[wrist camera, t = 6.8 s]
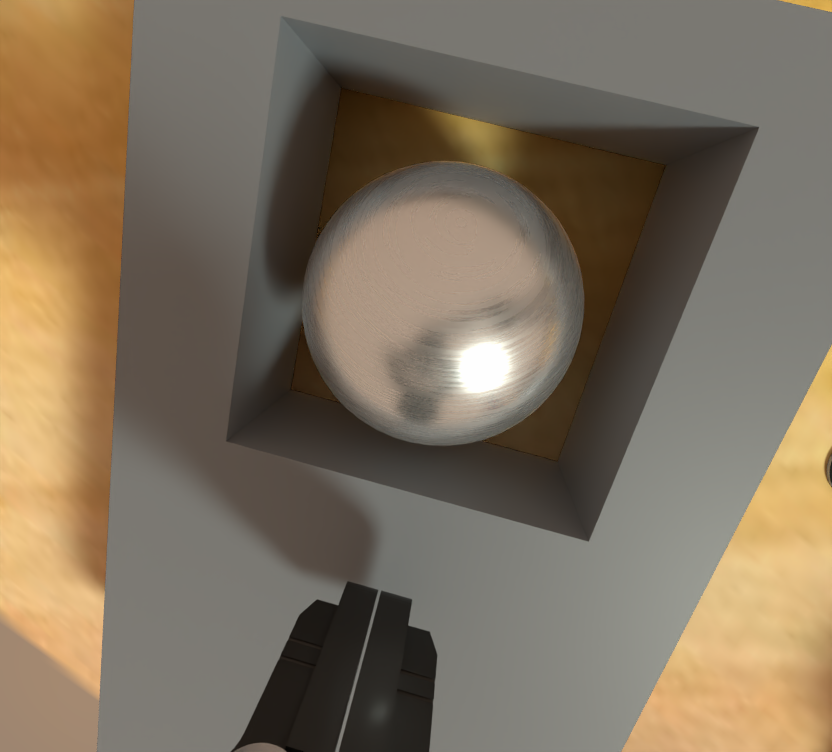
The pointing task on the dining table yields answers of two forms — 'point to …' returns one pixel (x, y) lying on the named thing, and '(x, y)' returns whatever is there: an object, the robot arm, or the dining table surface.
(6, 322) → the dining table surface
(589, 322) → the dining table surface
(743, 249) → the board
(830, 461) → the smartphone
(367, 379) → the ball
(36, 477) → the dining table surface
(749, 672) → the dining table surface
